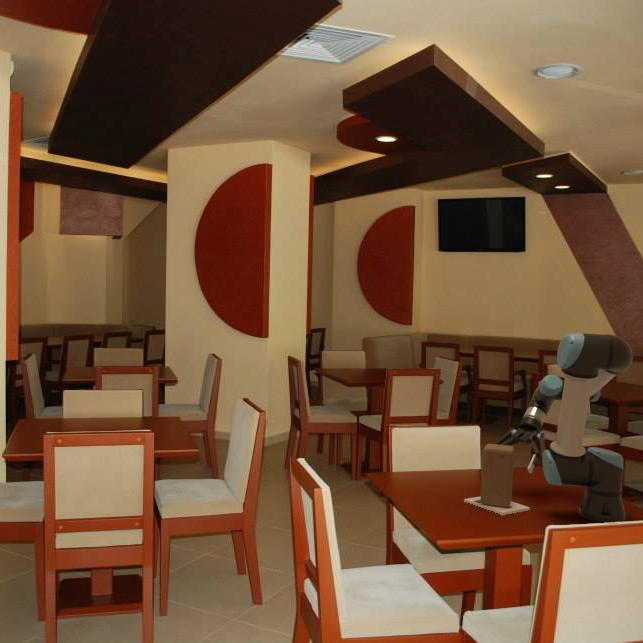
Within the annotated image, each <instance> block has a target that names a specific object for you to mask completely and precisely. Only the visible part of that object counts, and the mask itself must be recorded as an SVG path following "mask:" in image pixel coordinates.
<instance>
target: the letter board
mask: <svg viewBox="0 0 643 643" xmlns="http://www.w3.org/2000/svg"><path fill="white" fill-rule="evenodd" d="M480 498H481V495H480V496H475V497H468V498H464V499H463V502H464V503H466V502H467V503H466V504H468V503H470V504H469V505H471V504H473V505H472V506H474V505H475V507H477V506H478V507H477V508H479V507H481V508H480V509H482V508H484V509H483V510H485V509H487V510H486V511H488V510H490V511H489V512H491V511H493V512H495V513H494V514H496V513H498V514H497V515H499V514H500V515H499V516H506V515H507V514H508V515H513V514H517V512H518V513H524V512H527V511H528V510H529V511H531V509H530V508H531V507H529V506H526V505H523V504H520V503H519V502H516V501H515V502H514V501H512V500H511V502H510V505H509V507H501V506H494V505H486V504H482V503H481V501H480ZM493 512H492V513H493ZM512 513H513V514H512Z"/></svg>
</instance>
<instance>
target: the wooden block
mask: <svg viewBox="0 0 643 643" xmlns="http://www.w3.org/2000/svg"><path fill="white" fill-rule="evenodd" d="M514 460H515V447H514V446H513V445H511V446H508V445H498V444H494V443H487V444H486V445H485V446H484V448H483V451H482V467H481V484H480V496H481V498H480V501H481V503H482V504H486V505H494V506H501V507H509V505H510V502H511V501H512V496H513V482H514V481H513V480H514V479H513V478H514V476H513V475H514V462H515V461H514Z"/></svg>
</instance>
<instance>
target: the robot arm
mask: <svg viewBox="0 0 643 643" xmlns="http://www.w3.org/2000/svg"><path fill="white" fill-rule="evenodd" d="M633 360H634V354H633V350H632V347H631V346H630V343H628V342H627V341H626V340H625V339H624V338H622V337H620V336H618V335H616V334H615V335H614V334H602V333H601V334H599V333H583V332H574V333H572V332H570V333H567V334H565V335H563V337H562V338H561V340H560V342H559V345H558V348H557V353H556V361H557V362H556V363H557V365H558V367H559V368H561V373H562V374H563V375H564V380H562V379H561V378H560V377H559V376H557V375H554V374H547V375H546V376H544V377H543V378H542V379H541V381H540V383H539V385H538V387H537V388H536V389H535V391H534V393H533V395H532V397H531V400H530V401H529V404H528V407H527V408H526V410H525V412H524V415H523V417H522V419H521V421H520V422H519V423H520V424H519V426H518V429H514V428H513V427H509V429H508V430H507V432H505V433H504V434H503V435H502V436H501V437H499V438H498V439H497V440H496V441H495V442H494V443H493V444H498V445H508V446H513V445H515V444H518V443H521V444H523V443H525V444H527V445H528V444H531V446H532V448H533V451H534V452H535V453H534V454H532V458H531V460H530V462H529V464H528V466H527V471H528V473H529V474H532V473H533V471H534V468H535V466H538V464H540V463H539V462H540V460H541V463H542V470H543V475H544V478H545V480H546V481H547V483H548V484H550V485H552V486H560V487H562V486H566V487H585V491H584V492H585V493H584V495H583V496H582V500H581V502H580V503H579V504H580V505H579V508H578V515H579V516H580V517H581V518H583V519H585V520H588V521H591V522H592V521H593V522H597V523H601V522H615V521H624V522H625V521H626V516H627V515H626V511H625V506H624V503H623V500H622V492H623V478H624V477H623V476H624V469H625V468H624V458H623V456H622V455H621V453H618V452H616V451H613V450H610V449H605V448H601V447H597V446H596V447H593V446H591V447H588V448H587V451H586V449H585V446H583V442H584V441H583V440H584V434H585V428H586V423H587V422H586V421H587V416H588V410H589V405H590V404H589V403H590V402H592V403H593V402H597V401H599V399H600V396H601V390H602V388H603V387H605V385H607V384H608V383H609V382H611V380H612V379H614V377H616V376H619V375H622V374H624V373H625V372H626V371H627V370H628V369H629V368H630V367H631V366H632V363H633ZM555 401H561V403H560V409H559V415H558V416H559V417H558V421H557V422H558V423H557V429H556V430H557V431H556V436H555V440H554V441H552V442H551V443H550V445H549V449H547V448H546V443H545V441H546V435H545V433H544V432H541V429H542V427H543V425H544V422H545V420H546V418H547V415H548V413H549V411H550V409H551V407H552V406H553V403H554V402H555ZM540 432H541V433H540ZM537 439H538V440H539V444H540V445H539V446H540V450H539V449H538V447H537V445H536V443H535V440H537Z"/></svg>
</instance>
